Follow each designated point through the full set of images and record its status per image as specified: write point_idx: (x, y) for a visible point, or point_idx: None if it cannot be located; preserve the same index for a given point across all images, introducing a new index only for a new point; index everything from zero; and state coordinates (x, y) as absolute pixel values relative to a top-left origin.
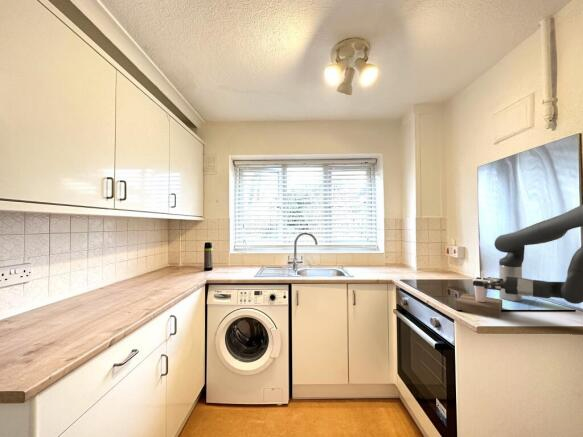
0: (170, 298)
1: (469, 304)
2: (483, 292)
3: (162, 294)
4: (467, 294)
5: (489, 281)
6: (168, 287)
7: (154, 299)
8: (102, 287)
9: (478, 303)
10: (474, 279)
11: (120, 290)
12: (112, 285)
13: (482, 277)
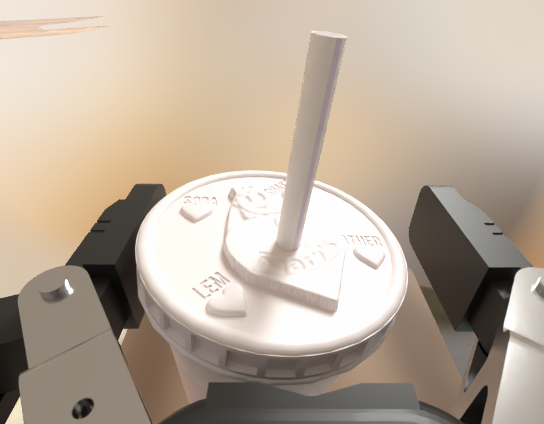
0: (52, 34)
1: (124, 346)
2: (186, 391)
3: (69, 30)
4: (414, 293)
5: (43, 363)
6: (106, 26)
7: (43, 32)
8: (82, 17)
9: (159, 408)
10: (257, 181)
11: (75, 21)
12: (94, 17)
13: (284, 205)
